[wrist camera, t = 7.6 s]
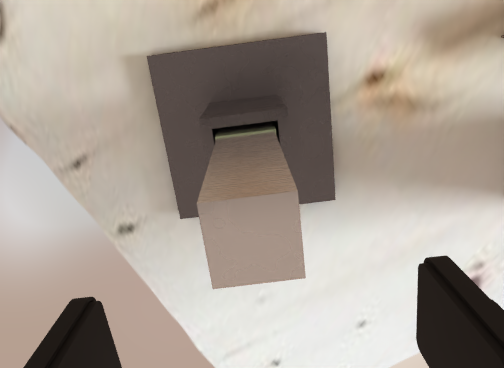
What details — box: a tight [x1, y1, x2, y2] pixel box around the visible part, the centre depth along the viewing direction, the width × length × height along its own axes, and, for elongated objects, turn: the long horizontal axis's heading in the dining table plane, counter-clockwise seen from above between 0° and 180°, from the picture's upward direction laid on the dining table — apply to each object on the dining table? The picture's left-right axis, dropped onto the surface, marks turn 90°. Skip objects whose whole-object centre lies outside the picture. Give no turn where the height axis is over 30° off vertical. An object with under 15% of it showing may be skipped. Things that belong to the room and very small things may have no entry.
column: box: [197, 121, 306, 289], centre depth 23 cm, size 4×4×16 cm
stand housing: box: [147, 32, 335, 219], centre depth 33 cm, size 16×16×10 cm
